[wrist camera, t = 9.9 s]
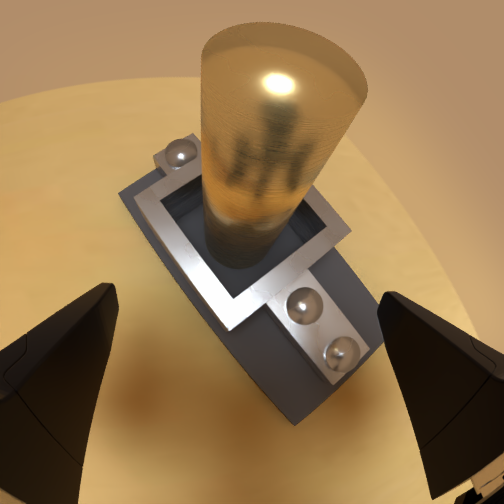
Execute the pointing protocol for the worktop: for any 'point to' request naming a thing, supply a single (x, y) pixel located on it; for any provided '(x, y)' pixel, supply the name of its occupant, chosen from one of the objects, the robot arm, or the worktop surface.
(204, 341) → the worktop surface
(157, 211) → the grey framed plate
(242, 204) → the amber cylinder
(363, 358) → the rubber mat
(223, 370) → the worktop surface
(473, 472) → the robot arm
